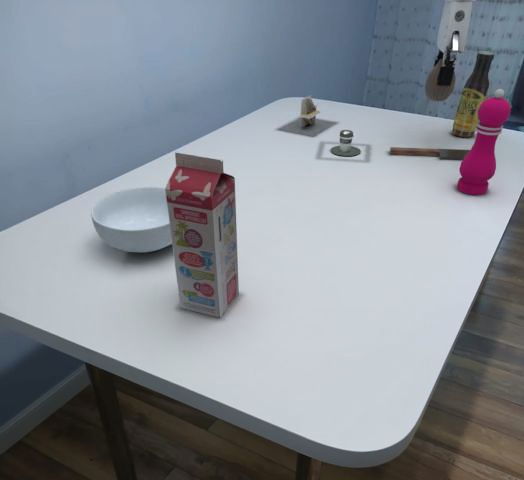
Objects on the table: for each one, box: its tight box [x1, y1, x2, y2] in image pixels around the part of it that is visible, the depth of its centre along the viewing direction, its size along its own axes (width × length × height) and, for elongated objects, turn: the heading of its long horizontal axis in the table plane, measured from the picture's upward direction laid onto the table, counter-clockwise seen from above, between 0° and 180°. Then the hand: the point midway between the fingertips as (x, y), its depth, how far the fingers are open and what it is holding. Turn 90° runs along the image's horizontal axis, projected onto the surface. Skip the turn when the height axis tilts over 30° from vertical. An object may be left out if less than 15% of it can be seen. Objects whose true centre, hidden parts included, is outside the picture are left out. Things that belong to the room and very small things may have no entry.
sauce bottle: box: [451, 50, 496, 138], centre depth 130 cm, size 7×6×20 cm
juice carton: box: [164, 151, 240, 319], centre depth 69 cm, size 7×7×22 cm
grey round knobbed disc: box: [329, 129, 362, 157], centre depth 125 cm, size 12×12×5 cm
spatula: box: [389, 146, 471, 161], centre depth 124 cm, size 21×6×1 cm, turn 84°
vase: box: [424, 59, 456, 102], centre depth 121 cm, size 7×7×9 cm
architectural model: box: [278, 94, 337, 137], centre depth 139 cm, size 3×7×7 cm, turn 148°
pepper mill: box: [456, 88, 512, 196], centre depth 102 cm, size 7×7×20 cm
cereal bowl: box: [90, 186, 172, 254], centre depth 88 cm, size 17×17×7 cm
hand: (440, 80), depth 121 cm, fingers closed on vase, 6 cm apart
